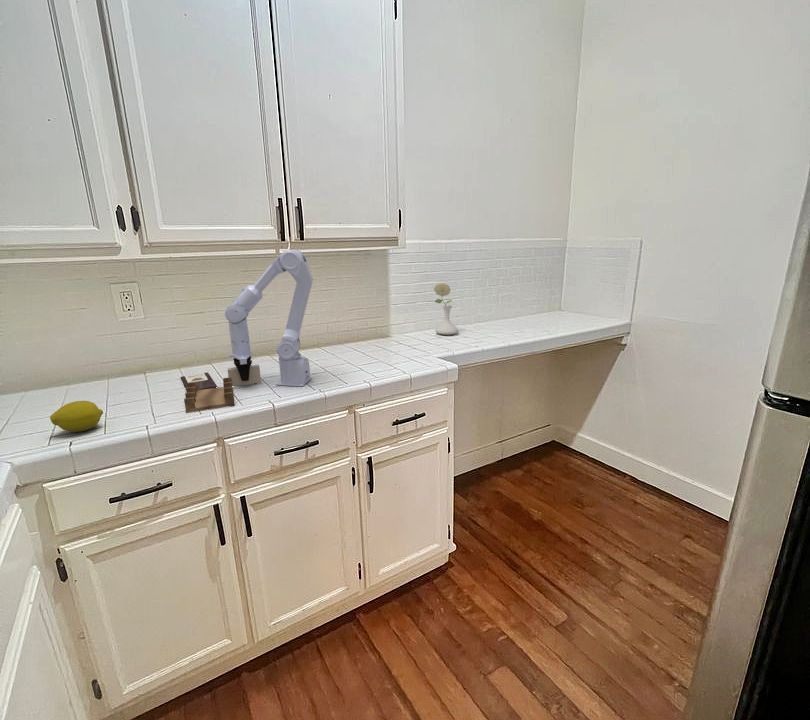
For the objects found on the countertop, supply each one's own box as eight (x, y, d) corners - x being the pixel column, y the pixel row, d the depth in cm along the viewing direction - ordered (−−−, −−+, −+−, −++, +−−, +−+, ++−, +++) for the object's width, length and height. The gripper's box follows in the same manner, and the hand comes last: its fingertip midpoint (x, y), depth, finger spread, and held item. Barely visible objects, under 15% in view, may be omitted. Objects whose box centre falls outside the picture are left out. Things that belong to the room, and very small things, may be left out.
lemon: (108, 421, 120) (102, 393, 118) (103, 432, 113) (97, 403, 111) (59, 429, 115) (52, 400, 113) (51, 441, 109) (43, 411, 106)
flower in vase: (462, 332, 218) (463, 282, 211) (452, 337, 208) (453, 284, 201) (438, 330, 224) (439, 281, 217) (428, 334, 215) (428, 283, 208)
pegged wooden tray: (232, 388, 144) (231, 377, 142) (234, 405, 129) (232, 392, 128) (189, 394, 139) (187, 382, 138) (186, 412, 125) (183, 399, 123)
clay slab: (260, 381, 151) (258, 364, 149) (261, 383, 148) (259, 366, 147) (229, 385, 147) (227, 368, 145) (229, 387, 145) (227, 370, 143)
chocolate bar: (187, 391, 140) (180, 376, 154) (187, 394, 140) (180, 379, 155) (217, 386, 145) (207, 372, 159) (217, 388, 145) (208, 374, 159)
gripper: (226, 336, 148) (231, 374, 152) (227, 346, 135) (233, 387, 139) (248, 334, 151) (252, 372, 155) (251, 344, 138) (256, 384, 142)
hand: (244, 379), depth 147 cm, fingers closed on clay slab, 2 cm apart
